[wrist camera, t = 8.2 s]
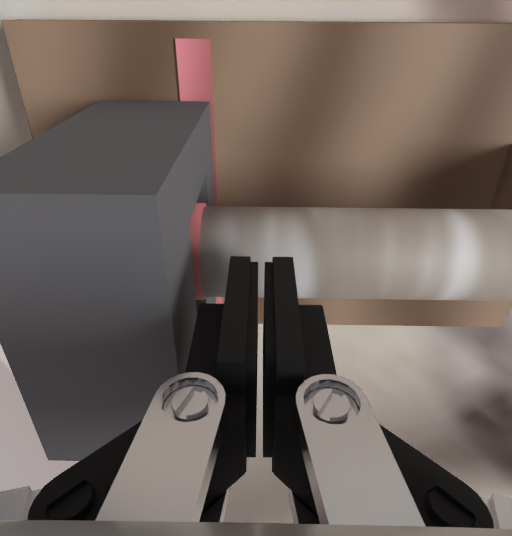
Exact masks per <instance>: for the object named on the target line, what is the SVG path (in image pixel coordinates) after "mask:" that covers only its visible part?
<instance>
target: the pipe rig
mask: <svg viewBox="0 0 512 536" xmlns="http://www.w3.org/2000/svg"><path fill="white" fill-rule="evenodd" d="M1 21H2V25H3V29H4V33H5V36H6V40H7V44H8V48H9V51H10V55H11V59H12V63H13V66H14V70H15V74H16V77H17V81H18V85H19V89H20V92H21V96H22V100H23V104H24V107H25V111H26V115H27V119H28V122H29V126H30V130H31V134H32V137H33V139H34V138H36V137H37V136H39V135H41V134H43V133H44V132H46V131H48V130H50V129H51V128H53V127H55V126H57V125H58V124H60V123H62V122H64V121H65V120H67V119H69V118H71V117H72V116H74V115H76V114H78V113H79V112H81V111H83V110H85V109H86V108H88V107H90V106H92V105H93V104H95V103H97V102H99V101H198V102H210V118H211V138H212V159H213V179H214V200H215V206H207V204H206V203H196V205H195V208H194V211H193V214H192V216H191V219H190V222H189V227H190V239H191V250H192V262H193V274H194V286H195V297H196V300H205V299H206V298H207V297H217V298H216V304H224V300H225V293H226V285H227V278H228V270H229V262H230V256H250V257H251V262H258V323H264V272H265V262H272V259H273V257H293V261H294V270H295V278H296V287H297V295H298V303H299V305H322V306H323V310H324V314H325V319H326V324H334V325H404V326H474V327H504V324H505V322H506V319H507V317H508V314H509V312H510V309H511V307H512V23H457V22H307V21H157V20H1Z"/></svg>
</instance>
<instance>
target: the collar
mask: <svg viewBox="0 0 512 536" xmlns="http://www.w3.org/2000/svg"><path fill="white" fill-rule="evenodd" d="M196 203H206V204H207V206H215V200H214V179H213V159H212V138H211V118H210V102H198V101H99V102H97V103H95V104H93V105H92V106H90V107H88V108H86V109H85V110H83V111H81V112H79V113H78V114H76V115H74V116H72V117H71V118H69V119H67V120H65V121H64V122H62V123H60V124H58V125H57V126H55V127H53V128H51V129H50V130H48V131H46V132H44V133H43V134H41V135H39V136H37V137H36V138H34V139H32V140H30V141H29V142H27V143H25V144H23V145H22V146H20V147H18V148H16V149H15V150H13V151H11V152H9V153H8V154H6V155H4V156H2V157H1V158H0V343H1V345H2V348H3V350H4V353H5V355H6V358H7V360H8V363H9V365H10V368H11V370H12V372H13V375H14V377H15V380H16V382H17V385H18V387H19V390H20V392H21V394H22V397H23V399H24V402H25V404H26V407H27V409H28V412H29V414H30V416H31V419H32V421H33V424H34V426H35V429H36V431H37V434H38V436H39V439H40V441H41V443H42V446H43V448H44V451H45V453H46V456H47V458H48V460H67V461H71V460H72V461H81V460H82V459H84V458H85V457H87V456H88V455H90V454H91V453H93V452H95V451H96V450H98V449H99V448H101V447H102V446H104V445H105V444H107V443H108V442H110V441H111V440H113V439H114V438H116V437H117V436H119V435H120V434H122V433H123V432H125V431H127V430H128V429H130V428H131V427H133V426H134V425H136V424H137V423H139V422H140V421H142V420H143V418H144V416H145V414H146V412H147V410H148V408H149V406H150V404H151V402H152V399H153V397H154V395H155V393H156V392H157V390H158V389H159V387H160V386H161V385H162V384H163V383H165V382H166V381H167V380H168V379H170V378H172V377H174V376H176V375H179V374H183V373H185V370H186V365H187V361H188V356H189V351H190V346H191V342H192V337H193V332H194V328H195V323H196V318H197V314H198V309H199V305H200V304H201V303H216V298H217V297H207V298H206V299H205V300H196V297H195V286H194V274H193V262H192V250H191V239H190V227H189V222H190V219H191V216H192V214H193V211H194V208H195V205H196Z"/></svg>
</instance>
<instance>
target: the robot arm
mask: <svg viewBox="0 0 512 536" xmlns="http://www.w3.org/2000/svg"><path fill="white" fill-rule="evenodd" d="M257 344H258V262H251V257H250V256H230V262H229V270H228V278H227V285H226V293H225V300H224V304H216V303H201V304H200V305H199V309H198V314H197V318H196V323H195V328H194V332H193V337H192V342H191V346H190V351H189V356H188V361H187V365H186V370H185V373H183V374H179V375H176V376H174V377H172V378H170V379H168V380H167V381H166V382H165V383H163V384H162V385H161V386H160V387H159V389H158V390H157V392H156V393H155V395H154V397H153V399H152V402H151V404H150V406H149V408H148V410H147V412H146V414H145V416H144V418H143V420H142V421H140V422H139V423H137V424H136V425H134V426H133V427H131V428H130V429H128V430H127V431H125V432H123V433H122V434H120V435H119V436H117V437H116V438H114V439H113V440H111V441H110V442H108V443H107V444H105V445H104V446H102V447H101V448H99V449H98V450H96V451H95V452H93V453H91V454H90V455H88V456H87V457H85V458H84V459H82V460H81V461H79V462H78V463H76V464H75V465H73V466H72V467H70V468H69V469H67V470H66V471H64V472H63V473H61V474H59V475H58V476H57V477H55V478H54V479H53V480H51V481H50V482H49V483H48V484H47V485H45V486H44V487H43V488H42V489H40V490H35V491H31V489H30V486H27V487H22V488H17V489H12V490H7V491H2V492H0V536H512V498H508V497H503V496H499V495H495V494H492V496H491V498H490V499H487V498H483V497H480V496H479V495H478V494H477V493H476V492H475V491H474V490H472V489H471V488H470V487H469V486H468V485H467V484H465V483H464V482H462V481H461V480H459V479H458V478H457V477H455V476H454V475H452V474H451V473H449V472H448V471H446V470H445V469H443V468H442V467H441V466H439V465H438V464H436V463H435V462H433V461H432V460H430V459H429V458H428V457H426V456H425V455H423V454H422V453H420V452H419V451H417V450H416V449H415V448H413V447H412V446H410V445H409V444H407V443H406V442H404V441H403V440H402V439H400V438H399V437H397V436H396V435H394V434H393V433H391V432H390V431H388V430H387V429H386V428H384V427H383V426H381V425H380V424H379V423H378V421H377V419H376V416H375V414H374V412H373V410H372V408H371V405H370V403H369V401H368V399H367V397H366V395H365V394H364V392H363V391H362V389H361V388H360V387H359V386H357V385H356V384H355V383H354V382H352V381H350V380H348V379H346V378H344V377H342V376H338V375H336V370H335V365H334V360H333V355H332V350H331V345H330V340H329V335H328V329H327V324H326V319H325V314H324V310H323V306H322V305H299V303H298V295H297V287H296V278H295V270H294V261H293V257H273V259H272V262H265V272H264V324H263V457H272V472H274V475H275V476H277V477H278V478H279V479H280V480H281V481H282V482H283V483H284V484H285V485H286V486H287V487H288V490H289V501H290V506H291V511H292V516H293V520H294V524H280V523H224V518H225V514H226V509H227V505H228V500H229V493H230V486H231V485H233V484H234V483H235V482H236V481H237V480H238V479H239V478H240V477H242V476H243V475H244V474H245V472H246V461H247V457H256V405H257Z"/></svg>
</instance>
